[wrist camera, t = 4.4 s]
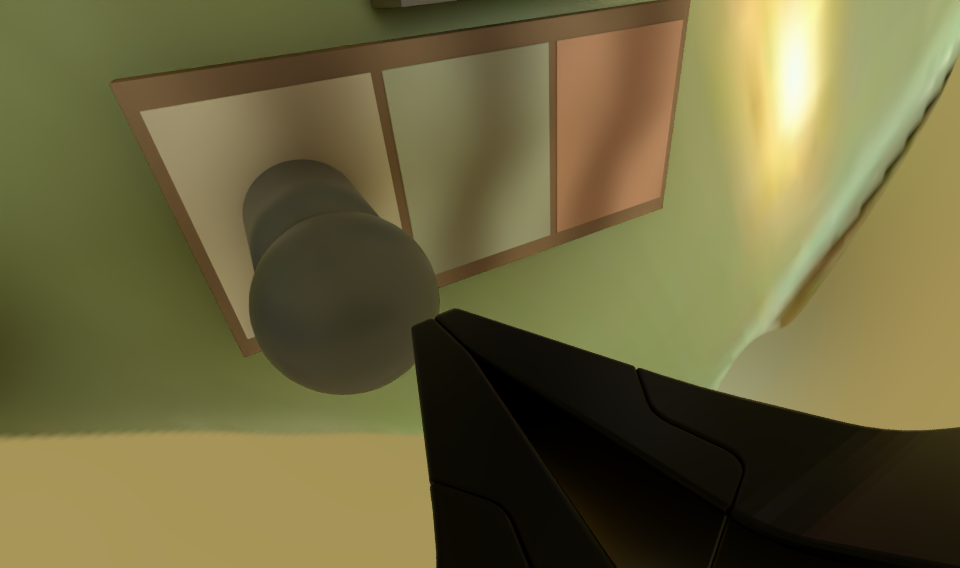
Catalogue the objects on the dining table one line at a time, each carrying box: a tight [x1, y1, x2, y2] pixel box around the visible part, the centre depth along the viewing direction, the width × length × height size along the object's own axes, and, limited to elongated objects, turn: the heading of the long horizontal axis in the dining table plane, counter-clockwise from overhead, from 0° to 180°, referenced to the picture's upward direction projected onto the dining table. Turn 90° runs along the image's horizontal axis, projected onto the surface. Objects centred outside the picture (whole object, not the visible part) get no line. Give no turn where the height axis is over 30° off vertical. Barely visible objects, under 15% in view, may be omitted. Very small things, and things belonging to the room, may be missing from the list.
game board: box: [109, 0, 690, 357], centre depth 19 cm, size 22×10×1 cm, turn 96°
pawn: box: [243, 159, 440, 395], centre depth 13 cm, size 5×5×9 cm
